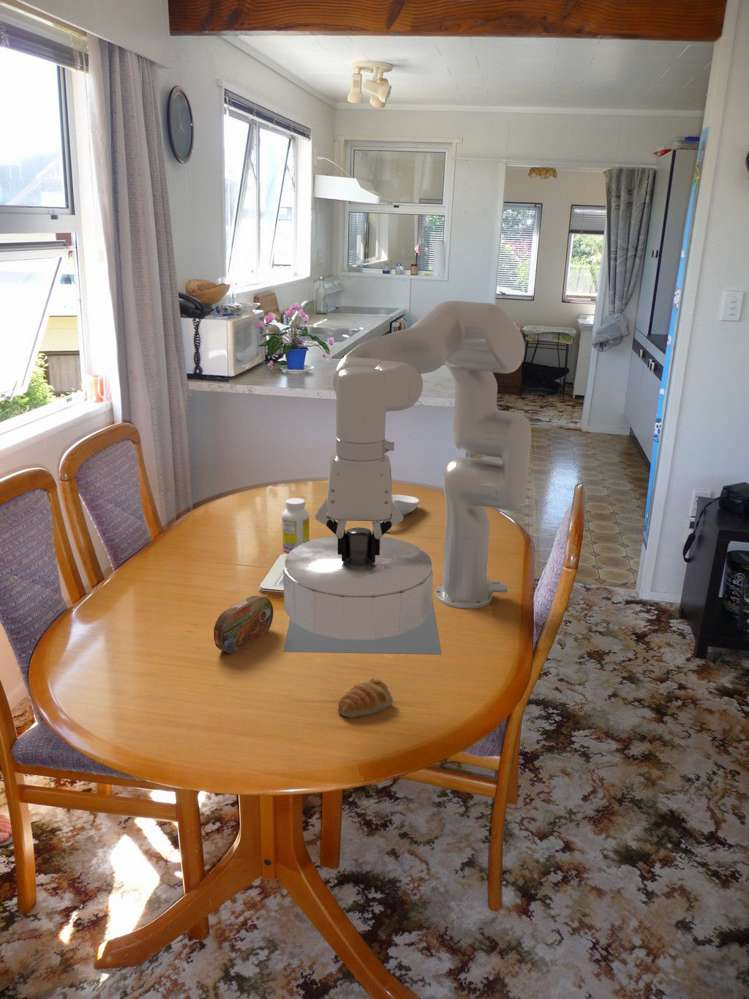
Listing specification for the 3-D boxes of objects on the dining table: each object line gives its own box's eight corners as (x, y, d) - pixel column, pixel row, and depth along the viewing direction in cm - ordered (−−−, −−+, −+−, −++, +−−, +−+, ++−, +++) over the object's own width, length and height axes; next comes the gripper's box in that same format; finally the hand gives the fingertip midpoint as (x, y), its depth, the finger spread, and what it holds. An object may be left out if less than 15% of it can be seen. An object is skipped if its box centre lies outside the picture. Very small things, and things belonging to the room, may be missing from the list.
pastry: (354, 727, 133) (355, 706, 132) (328, 709, 138) (328, 690, 137) (395, 705, 139) (396, 686, 138) (368, 689, 144) (368, 670, 143)
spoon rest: (383, 503, 240) (384, 480, 237) (422, 508, 237) (423, 484, 235) (360, 530, 218) (361, 505, 216) (403, 536, 215) (404, 510, 213)
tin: (224, 661, 152) (222, 620, 149) (211, 656, 153) (209, 616, 151) (275, 629, 164) (274, 591, 161) (262, 625, 165) (262, 587, 163)
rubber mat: (431, 596, 180) (431, 595, 180) (441, 655, 155) (441, 654, 155) (295, 594, 179) (295, 592, 179) (283, 653, 155) (283, 651, 155)
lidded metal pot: (425, 576, 145) (428, 508, 141) (435, 641, 123) (439, 562, 119) (291, 573, 145) (290, 505, 141) (277, 638, 123) (276, 560, 118)
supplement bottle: (305, 543, 208) (305, 495, 204) (312, 553, 202) (312, 503, 198) (280, 545, 206) (279, 497, 202) (285, 555, 200) (285, 506, 196)
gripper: (413, 443, 129) (409, 550, 135) (307, 441, 129) (308, 549, 135) (416, 456, 122) (411, 569, 128) (304, 454, 122) (304, 567, 128)
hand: (358, 557), depth 131 cm, fingers closed on lidded metal pot, 4 cm apart
